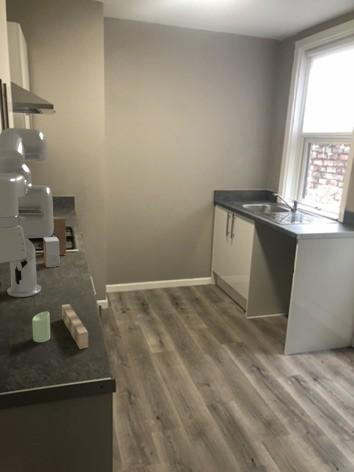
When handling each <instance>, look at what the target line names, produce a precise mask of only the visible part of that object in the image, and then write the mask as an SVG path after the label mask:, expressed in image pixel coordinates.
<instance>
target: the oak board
mask: <svg viewBox="0 0 354 472" xmlns="http://www.w3.org/2000/svg"><path fill="white" fill-rule="evenodd" d="M61 319H62V321H63V322H64V325H65V326H66V328H67V329H68V331H69V333H70V335H71V336H72V338H73V340H74V341H75V344H76V346H77V347H78V348H79V350H82V349H86V348H89V331H88V330H87V328H86V327H85V326H84V324H83V322H82V321H81V319H80V318H79V317H78V315H77V314H76V312H75V311H74V309H73V308H72V306H71V305H70V303H68V304H67V303H66V304H62V305H61Z"/></svg>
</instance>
